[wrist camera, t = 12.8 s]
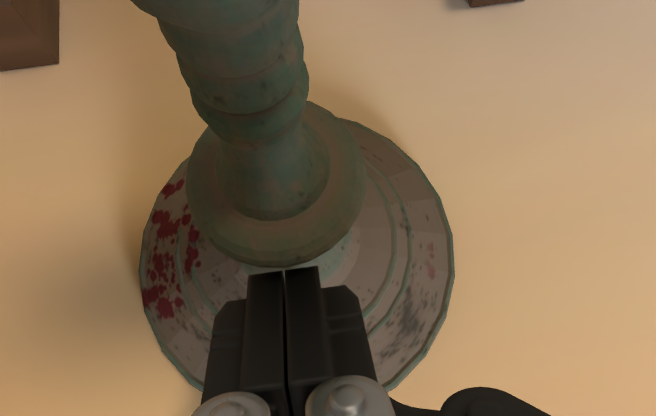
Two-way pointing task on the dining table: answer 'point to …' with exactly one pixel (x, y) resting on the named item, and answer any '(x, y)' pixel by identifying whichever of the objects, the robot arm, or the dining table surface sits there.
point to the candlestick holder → (285, 195)
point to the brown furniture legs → (51, 31)
